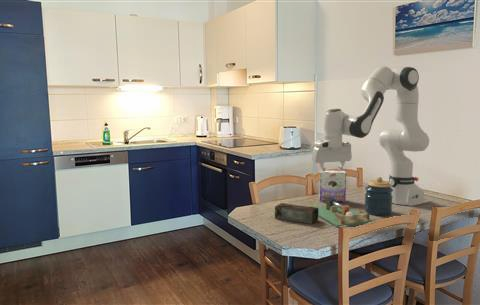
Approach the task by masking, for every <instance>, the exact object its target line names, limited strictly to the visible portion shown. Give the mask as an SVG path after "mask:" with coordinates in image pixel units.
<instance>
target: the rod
mask: <svg viewBox="0 0 480 305" xmlns="http://www.w3.org/2000/svg"><path fill="white" fill-rule="evenodd" d="M325 204H327V205H329V206H336V207H338V208H340V209H342V214H341V215H343V216H345V215H346V213H347V212H350V209H351V206H350V205H348V204H345V205H343V204H341V203H340V202H336V200H335V199H333V198H331V197H328V198H325V201H324V205H325Z"/></svg>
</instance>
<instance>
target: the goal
mask: <svg viewBox="0 0 480 305" xmlns="http://www.w3.org/2000/svg"><path fill="white" fill-rule="evenodd" d="M358 213H359V214H355V215H345V216H343V215H341V214H339V213H335V221H337V222H339V223H341V224H349V223H358V222H367V221H369V218H370V214H369V213H367V212H365V210H362V209H359V211H358Z"/></svg>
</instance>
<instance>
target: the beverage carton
mask: <svg viewBox="0 0 480 305" xmlns="http://www.w3.org/2000/svg"><path fill="white" fill-rule="evenodd" d="M318 210H319V209H318V208H315V207H310V206H307V205H305V206H304V205H298V204H290V203H284V202H281V203H279V204H277V205H275V206H274V218H275V219H278V220H286V221H289V222H290V221H291V222H298V223H304V224H309V225H314V224H315V223H317V221H319V217H318Z"/></svg>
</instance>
